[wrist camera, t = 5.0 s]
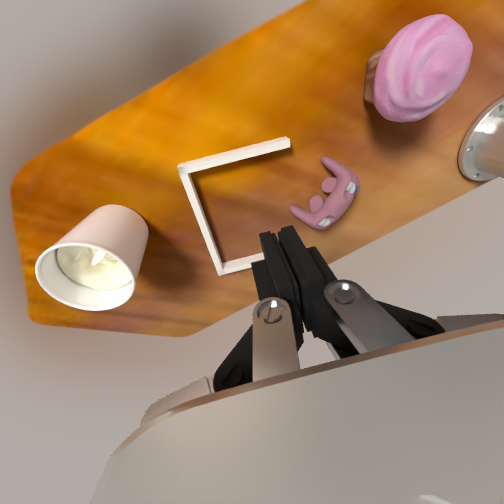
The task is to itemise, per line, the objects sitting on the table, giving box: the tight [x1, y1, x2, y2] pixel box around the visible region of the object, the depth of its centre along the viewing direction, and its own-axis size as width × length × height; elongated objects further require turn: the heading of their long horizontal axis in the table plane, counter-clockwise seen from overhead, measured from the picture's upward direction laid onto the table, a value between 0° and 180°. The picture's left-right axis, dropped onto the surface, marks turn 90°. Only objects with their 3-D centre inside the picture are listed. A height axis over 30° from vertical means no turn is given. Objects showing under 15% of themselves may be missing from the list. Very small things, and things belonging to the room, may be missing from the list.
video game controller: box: [289, 156, 360, 230], centre depth 36 cm, size 10×5×7 cm, turn 151°
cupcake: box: [364, 14, 473, 122], centre depth 26 cm, size 9×9×10 cm
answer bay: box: [177, 136, 290, 276], centre depth 37 cm, size 15×19×2 cm
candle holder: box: [35, 205, 149, 311], centre depth 32 cm, size 10×10×12 cm
